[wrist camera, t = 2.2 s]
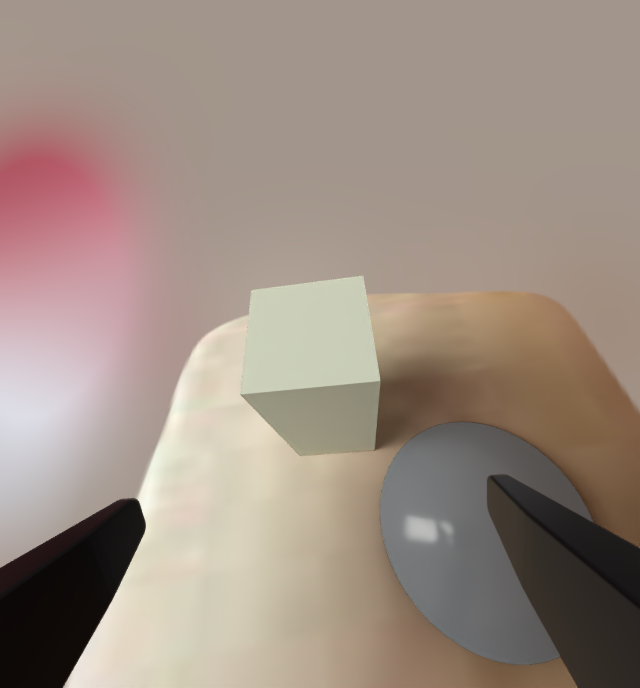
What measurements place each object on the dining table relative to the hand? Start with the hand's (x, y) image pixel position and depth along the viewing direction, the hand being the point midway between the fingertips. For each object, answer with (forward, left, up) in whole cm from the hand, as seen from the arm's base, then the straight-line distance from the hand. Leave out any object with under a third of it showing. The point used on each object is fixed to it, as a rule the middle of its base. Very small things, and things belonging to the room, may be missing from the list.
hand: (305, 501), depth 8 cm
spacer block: (+6, +1, -12) cm, 14 cm away
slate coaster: (+1, -8, -12) cm, 14 cm away
